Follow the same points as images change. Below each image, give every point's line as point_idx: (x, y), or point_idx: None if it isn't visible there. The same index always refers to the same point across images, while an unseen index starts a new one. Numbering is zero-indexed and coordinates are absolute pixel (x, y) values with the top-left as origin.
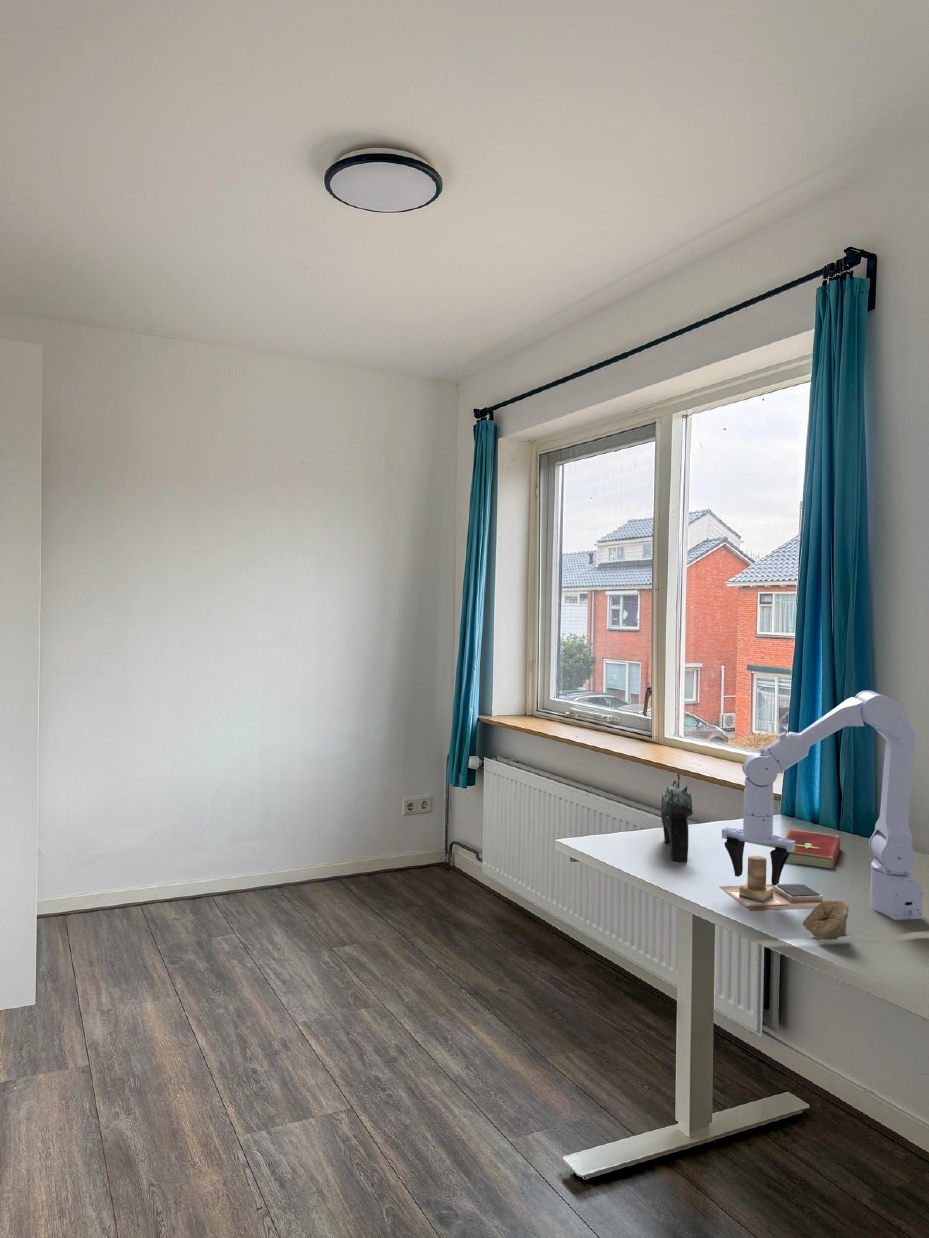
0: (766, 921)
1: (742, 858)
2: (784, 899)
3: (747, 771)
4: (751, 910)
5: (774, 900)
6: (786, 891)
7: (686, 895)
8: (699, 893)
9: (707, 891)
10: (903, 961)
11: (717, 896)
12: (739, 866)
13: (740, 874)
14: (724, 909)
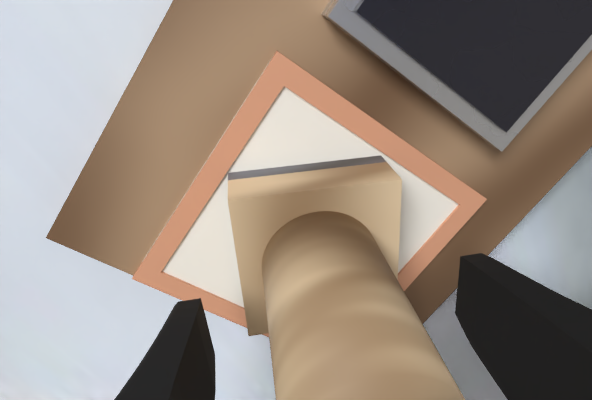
0: None
1: (173, 384)
2: (441, 129)
3: None
4: None
5: (406, 196)
6: (455, 90)
7: (20, 386)
8: (30, 324)
9: (26, 272)
10: None
11: (118, 290)
12: (203, 393)
13: (207, 327)
14: (251, 383)
